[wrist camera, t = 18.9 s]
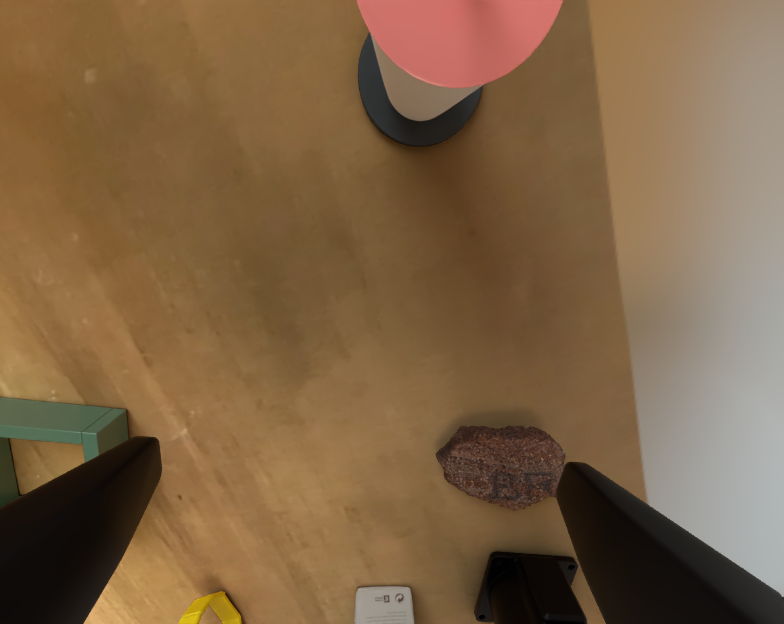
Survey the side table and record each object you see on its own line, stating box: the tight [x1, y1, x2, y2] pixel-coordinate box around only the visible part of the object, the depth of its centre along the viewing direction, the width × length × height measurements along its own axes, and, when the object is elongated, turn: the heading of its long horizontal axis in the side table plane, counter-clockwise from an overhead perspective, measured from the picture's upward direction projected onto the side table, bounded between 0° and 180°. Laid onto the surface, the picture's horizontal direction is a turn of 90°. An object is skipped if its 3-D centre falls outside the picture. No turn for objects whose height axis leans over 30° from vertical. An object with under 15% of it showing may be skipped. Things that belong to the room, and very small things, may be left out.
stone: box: [436, 426, 565, 510], centre depth 22 cm, size 7×7×3 cm
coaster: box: [358, 33, 482, 147], centre depth 17 cm, size 6×6×1 cm
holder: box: [0, 397, 129, 507], centre depth 22 cm, size 8×8×2 cm
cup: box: [357, 0, 563, 121], centre depth 11 cm, size 5×5×12 cm
